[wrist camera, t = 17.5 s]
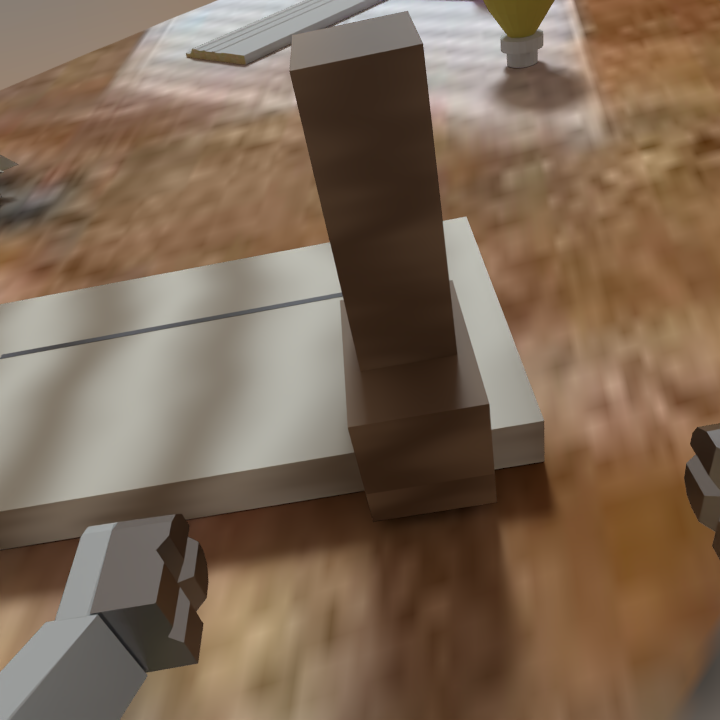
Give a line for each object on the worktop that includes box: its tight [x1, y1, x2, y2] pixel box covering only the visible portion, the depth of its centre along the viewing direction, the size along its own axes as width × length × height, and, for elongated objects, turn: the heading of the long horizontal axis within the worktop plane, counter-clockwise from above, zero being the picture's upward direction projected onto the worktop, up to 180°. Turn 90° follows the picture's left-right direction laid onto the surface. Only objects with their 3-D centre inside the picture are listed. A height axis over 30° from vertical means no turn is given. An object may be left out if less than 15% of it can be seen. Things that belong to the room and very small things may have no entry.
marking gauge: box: [290, 11, 497, 522], centre depth 22 cm, size 4×12×13 cm, turn 3°
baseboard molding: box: [186, 0, 384, 65], centre depth 77 cm, size 31×3×12 cm
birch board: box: [0, 217, 544, 550], centre depth 29 cm, size 24×14×2 cm, turn 93°
